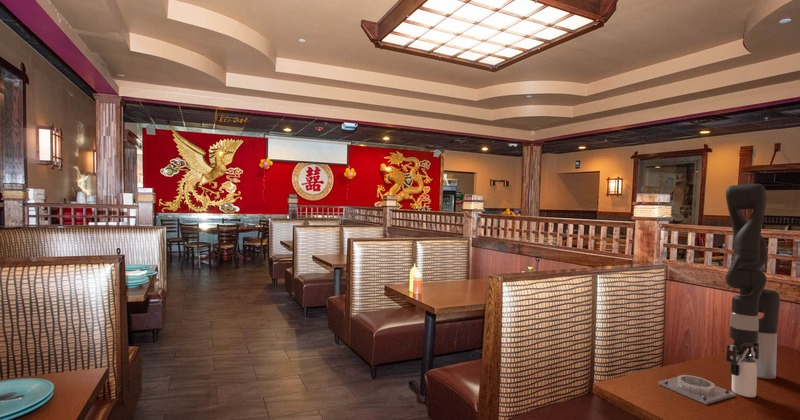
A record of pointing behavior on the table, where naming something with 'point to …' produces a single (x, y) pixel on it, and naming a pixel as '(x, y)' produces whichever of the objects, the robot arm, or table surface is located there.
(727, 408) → the table surface
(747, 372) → the can
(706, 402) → the duct flange
